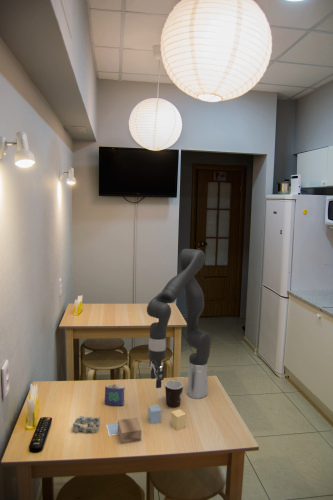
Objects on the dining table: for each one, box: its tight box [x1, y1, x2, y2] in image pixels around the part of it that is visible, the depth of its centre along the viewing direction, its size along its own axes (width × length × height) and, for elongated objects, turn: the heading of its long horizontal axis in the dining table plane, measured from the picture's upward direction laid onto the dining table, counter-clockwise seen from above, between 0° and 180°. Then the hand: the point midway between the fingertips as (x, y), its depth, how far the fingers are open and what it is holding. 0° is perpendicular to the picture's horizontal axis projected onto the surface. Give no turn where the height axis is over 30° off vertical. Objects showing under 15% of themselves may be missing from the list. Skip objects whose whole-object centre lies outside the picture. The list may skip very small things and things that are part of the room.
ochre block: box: [170, 408, 187, 431], centre depth 154 cm, size 4×4×6 cm
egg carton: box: [72, 415, 101, 434], centre depth 150 cm, size 11×8×4 cm
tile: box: [106, 422, 119, 436], centre depth 150 cm, size 8×8×1 cm
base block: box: [117, 417, 142, 445], centre depth 146 cm, size 8×8×5 cm
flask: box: [104, 382, 125, 407], centre depth 168 cm, size 9×3×11 cm, turn 88°
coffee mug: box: [164, 379, 184, 409], centre depth 170 cm, size 12×9×10 cm
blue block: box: [147, 404, 162, 425], centre depth 157 cm, size 4×4×6 cm
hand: (155, 382), depth 156 cm, fingers open, 8 cm apart
